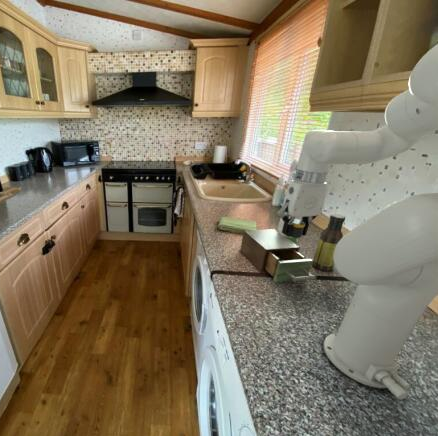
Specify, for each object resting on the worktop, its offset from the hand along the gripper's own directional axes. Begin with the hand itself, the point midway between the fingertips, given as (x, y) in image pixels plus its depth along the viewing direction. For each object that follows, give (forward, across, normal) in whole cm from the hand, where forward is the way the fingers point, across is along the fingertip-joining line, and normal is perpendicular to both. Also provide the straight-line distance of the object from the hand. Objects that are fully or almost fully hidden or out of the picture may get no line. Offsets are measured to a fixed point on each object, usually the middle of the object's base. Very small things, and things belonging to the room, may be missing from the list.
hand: (293, 233), depth 75 cm
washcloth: (+17, +4, +39) cm, 43 cm away
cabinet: (+17, +1, +11) cm, 20 cm away
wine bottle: (+17, +19, +24) cm, 35 cm away
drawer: (+16, +1, +1) cm, 16 cm away
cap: (0, 0, 0) cm, 0 cm away
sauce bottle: (+17, +19, +4) cm, 26 cm away
